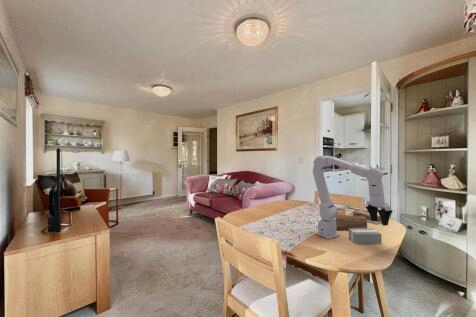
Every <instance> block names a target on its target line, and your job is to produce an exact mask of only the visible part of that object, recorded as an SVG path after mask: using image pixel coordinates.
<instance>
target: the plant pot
mask: <svg viewBox="0 0 476 317" xmlns="http://www.w3.org/2000/svg"><path fill="white" fill-rule="evenodd" d="M336 208H337V207H336ZM337 210H338V214H337V215H336V216H347V209H346V208H341V207H338V208H337Z"/></svg>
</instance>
